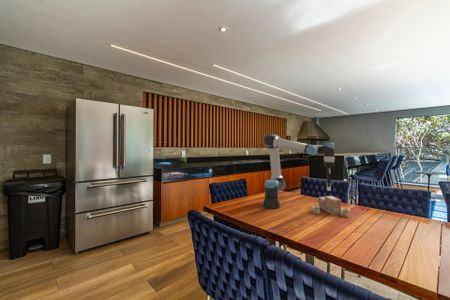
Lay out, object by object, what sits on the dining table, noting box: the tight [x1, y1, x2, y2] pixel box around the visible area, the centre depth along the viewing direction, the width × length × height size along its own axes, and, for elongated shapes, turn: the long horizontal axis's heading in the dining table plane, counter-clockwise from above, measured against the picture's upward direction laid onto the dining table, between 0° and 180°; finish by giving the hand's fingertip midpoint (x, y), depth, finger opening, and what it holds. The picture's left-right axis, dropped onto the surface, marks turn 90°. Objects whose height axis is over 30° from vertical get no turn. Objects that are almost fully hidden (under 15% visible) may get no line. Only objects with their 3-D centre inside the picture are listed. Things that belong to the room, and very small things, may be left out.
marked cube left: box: [311, 205, 321, 215], centre depth 173 cm, size 5×5×5 cm
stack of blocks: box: [318, 195, 342, 216], centre depth 176 cm, size 21×6×12 cm, turn 7°
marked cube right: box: [340, 207, 350, 218], centre depth 165 cm, size 5×5×5 cm
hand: (328, 190), depth 175 cm, fingers closed
